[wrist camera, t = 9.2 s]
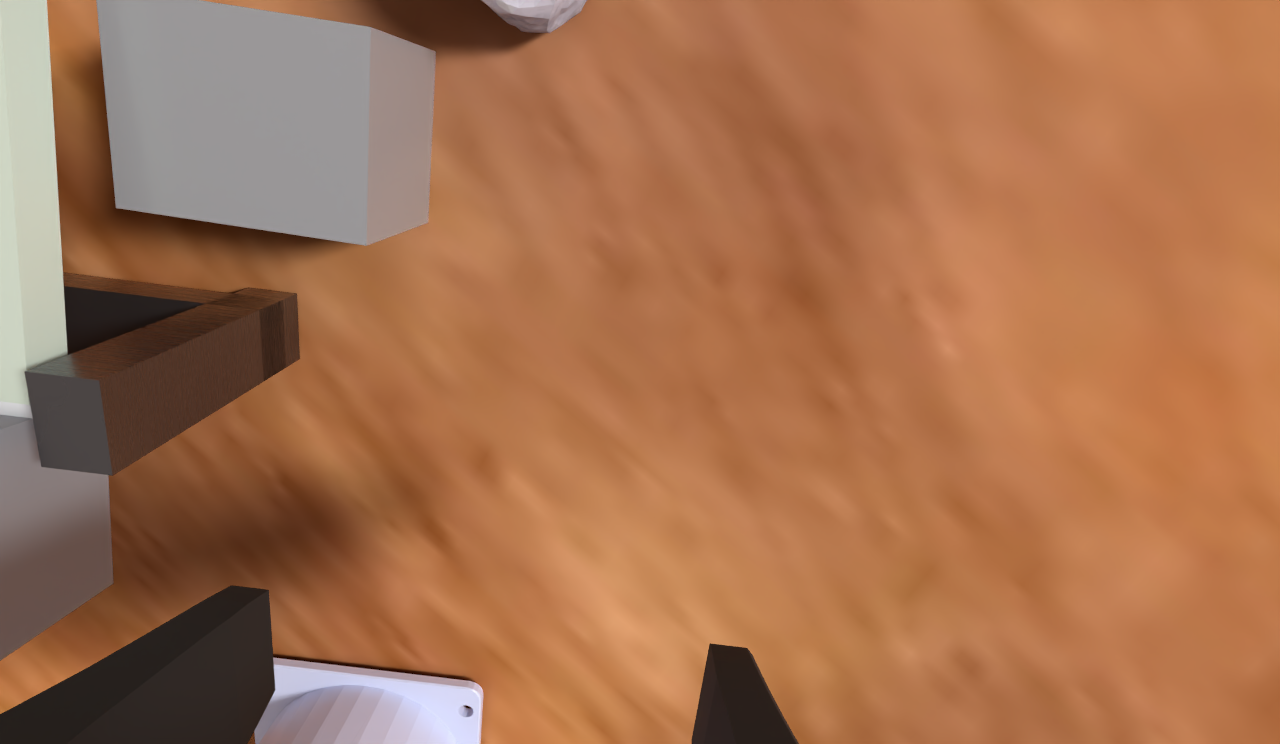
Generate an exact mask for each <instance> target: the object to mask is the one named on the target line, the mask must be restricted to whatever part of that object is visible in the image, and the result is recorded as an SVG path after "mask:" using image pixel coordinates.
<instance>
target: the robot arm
mask: <svg viewBox="0 0 1280 744" xmlns="http://www.w3.org/2000/svg"><path fill="white" fill-rule="evenodd" d="M463 705H467V706H470V707H471V708H466V707H464V706H463ZM482 709H483V689H482V688H481V687H480V685H478V684H477V683H475V682H472V681H466V680H458V679H449V678H441V677H433V676H424V675H416V674H407V673H399V672H391V671H382V670H374V669H365V668H357V667H349V666H340V665H332V664H323V663H315V662H306V661H298V660H290V659H281V658H273V647H272V632H271V617H270V603H269V590H264V589H256V588H248V587H240V586H230V587H228V588H226V589H224V590H222V591H220V592H218V593H216V594H215V595H213V596H211V597H209V598H207V599H206V600H204V601H202V602H200V603H199V604H197V605H195V606H193V607H192V608H190V609H188V610H187V611H185V612H183V613H181V614H180V615H178V616H176V617H175V618H173V619H171V620H170V621H168V622H166V623H164V624H163V625H161V626H159V627H158V628H156V629H154V630H152V631H151V632H149V633H147V634H146V635H144V636H142V637H140V638H139V639H137V640H135V641H133V642H132V643H130V644H128V645H126V646H125V647H123V648H121V649H120V650H118V651H116V652H114V653H113V654H111V655H109V656H107V657H106V658H104V659H102V660H100V661H99V662H97V663H95V664H93V665H92V666H90V667H88V668H86V669H84V670H83V671H81V672H79V673H77V674H75V675H73V676H71V677H69V678H68V679H66V680H64V681H62V682H60V683H58V684H56V685H55V686H53V687H51V688H49V689H47V690H45V691H43V692H41V693H40V694H38V695H36V696H34V697H32V698H30V699H28V700H27V701H25V702H23V703H21V704H19V705H17V706H15V707H13V708H12V709H10V710H8V711H6V712H4V713H2V714H0V744H247V743H248V742H249V740H250V738H251V736H252V734H253V732H254V734H255V744H481V726H482ZM692 744H799V743H798V742H797V740H796V738H795V736H794V735H793V733H792V731H791V729H790V728H789V726H788V724H787V722H786V721H785V719H784V717H783V715H782V713H781V711H780V709H779V708H778V706H777V704H776V702H775V700H774V698H773V696H772V694H771V692H770V690H769V688H768V686H767V684H766V682H765V680H764V678H763V676H762V674H761V672H760V670H759V668H758V666H757V664H756V662H755V660H754V657H753V655H752V654H751V653H750V651H749V650H748V649H747V648H742V647H734V646H725V645H717V644H710V645H709V650H708V656H707V661H706V667H705V672H704V677H703V683H702V688H701V693H700V699H699V704H698V709H697V715H696V720H695V725H694V731H693V736H692Z"/></svg>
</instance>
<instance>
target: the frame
mask: <svg viewBox="0 0 1280 744" xmlns="http://www.w3.org/2000/svg"><path fill="white" fill-rule="evenodd" d="M63 284H64V301H65V318H66V335H67V352H68V355H67V356H64V357H62V358H59V359H56V360H54V361H51V362H48V363H46V364H43V365H40V366H38V367H35V368H32V369H30V370H27V371H24V372H25V378H26V383H27V389H28V395H29V400H30V406H31V412H32V417H33V423H34V429H35V434H36V440H37V445H38V451H39V457H40V462H41V467H46V468H54V469H62V470H71V471H79V472H87V473H96V474H104V475H112V476H113V475H114V474H116V473H117V472H119V471H121V470H122V469H124V468H125V467H127V466H129V465H130V464H132V463H133V462H135V461H137V460H138V459H140V458H141V457H143V456H145V455H146V454H148V453H150V452H151V451H153V450H154V449H156V448H158V447H159V446H161V445H162V444H164V443H166V442H167V441H169V440H170V439H172V438H174V437H175V436H177V435H178V434H180V433H182V432H183V431H185V430H186V429H188V428H190V427H191V426H193V425H194V424H196V423H198V422H199V421H201V420H202V419H204V418H206V417H207V416H209V415H211V414H212V413H214V412H215V411H217V410H219V409H220V408H222V407H223V406H225V405H227V404H228V403H230V402H231V401H233V400H235V399H236V398H238V397H239V396H241V395H243V394H244V393H246V392H247V391H249V390H251V389H252V388H254V387H255V386H257V385H259V384H260V383H262V382H263V381H265V380H267V379H268V378H270V377H271V376H273V375H275V374H276V373H278V372H280V371H281V370H283V369H284V368H286V367H288V366H289V365H291V364H292V363H294V362H296V361H297V360H299V359H300V356H299V332H298V308H297V294H296V293H288V292H280V291H272V290H264V289H256V288H246V289H243V290H241V291H238V292H235V293H233V294H232V293H223V292H215V291H207V290H199V289H191V288H183V287H175V286H167V285H159V284H151V283H143V282H135V281H126V280H118V279H110V278H102V277H94V276H86V275H78V274H70V273H63Z"/></svg>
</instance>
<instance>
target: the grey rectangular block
mask: <svg viewBox="0 0 1280 744" xmlns="http://www.w3.org/2000/svg"><path fill="white" fill-rule="evenodd" d="M96 1H97V12H98V22H99V33H100V44H101V54H102V65H103V76H104V86H105V97H106V108H107V118H108V129H109V140H110V150H111V161H112V172H113V182H114V193H115V204H116V208H119V209H126V210H133V211H139V212H146V213H153V214H159V215H166V216H173V217H179V218H186V219H193V220H199V221H206V222H213V223H219V224H226V225H233V226H239V227H246V228H252V229H259V230H266V231H272V232H279V233H286V234H292V235H299V236H306V237H312V238H319V239H326V240H332V241H339V242H346V243H352V244H359V245H366V246H367V245H369V244H372V243H375V242H378V241H380V240H383V239H386V238H388V237H391V236H394V235H396V234H399V233H402V232H404V231H407V230H410V229H413V228H415V227H418V226H421V225H423V224H426V223H428V213H429V192H430V170H431V148H432V126H433V105H434V83H435V61H436V51H433V50H431V49H428V48H425V47H423V46H420V45H417V44H415V43H412V42H409V41H407V40H404V39H401V38H399V37H396V36H393V35H391V34H388V33H385V32H383V31H380V30H377V29H375V28H372V27H367V26H361V25H354V24H348V23H342V22H335V21H329V20H322V19H316V18H310V17H303V16H297V15H290V14H284V13H278V12H271V11H265V10H258V9H252V8H246V7H239V6H233V5H226V4H220V3H213V2H207V1H201V0H96Z"/></svg>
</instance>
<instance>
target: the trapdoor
mask: <svg viewBox="0 0 1280 744" xmlns="http://www.w3.org/2000/svg"><path fill="white" fill-rule="evenodd" d="M67 355H68V352H67V335H66V318H65V301H64V284H63V267H62V250H61V234H60V217H59V200H58V183H57V166H56V149H55V132H54V115H53V98H52V81H51V64H50V47H49V31H48V14H47V0H0V660H2V659H3V658H5V657H6V656H8V655H9V654H11V653H12V652H14V651H15V650H17V649H18V648H19V647H21V646H22V645H24V644H25V643H27V642H28V641H30V640H31V639H33V638H34V637H36V636H37V635H38V634H40V633H41V632H43V631H44V630H46V629H47V628H49V627H50V626H52V625H53V624H55V623H56V622H58V621H59V620H60V619H62V618H63V617H65V616H66V615H68V614H69V613H71V612H72V611H74V610H75V609H77V608H78V607H80V606H81V605H82V604H84V603H85V602H87V601H88V600H90V599H91V598H93V597H94V596H96V595H97V594H99V593H100V592H101V591H103V590H104V589H106V588H107V587H109V586H110V585H112V584H113V562H112V541H111V520H110V499H109V478H108V475H104V474H96V473H87V472H79V471H71V470H62V469H54V468H46V467H41V462H40V457H39V451H38V445H37V440H36V434H35V429H34V423H33V417H32V412H31V406H30V400H29V395H28V389H27V383H26V378H25V372H24V371H27V370H30V369H32V368H35V367H38V366H40V365H43V364H46V363H48V362H51V361H54V360H56V359H59V358H62V357H64V356H67Z"/></svg>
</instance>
